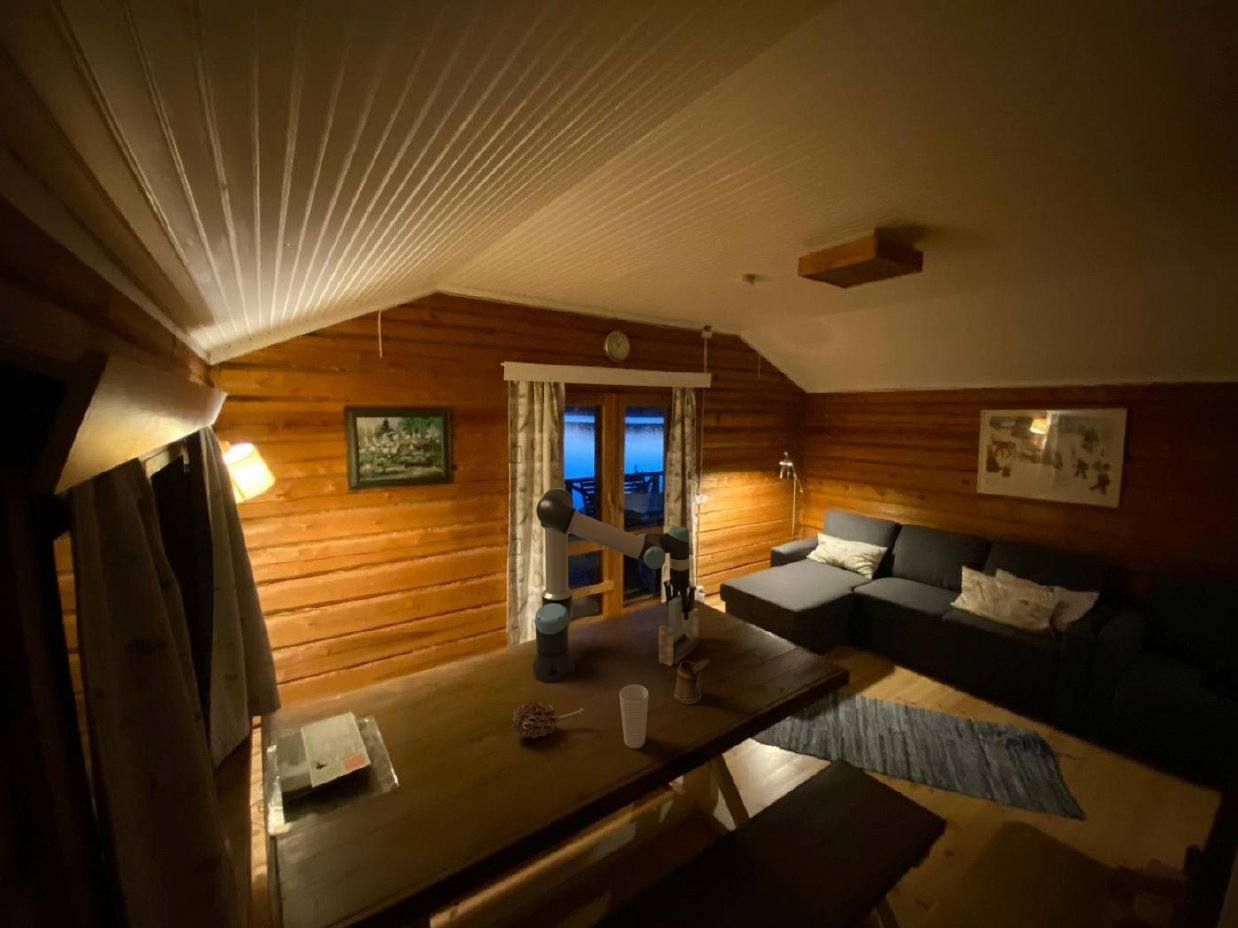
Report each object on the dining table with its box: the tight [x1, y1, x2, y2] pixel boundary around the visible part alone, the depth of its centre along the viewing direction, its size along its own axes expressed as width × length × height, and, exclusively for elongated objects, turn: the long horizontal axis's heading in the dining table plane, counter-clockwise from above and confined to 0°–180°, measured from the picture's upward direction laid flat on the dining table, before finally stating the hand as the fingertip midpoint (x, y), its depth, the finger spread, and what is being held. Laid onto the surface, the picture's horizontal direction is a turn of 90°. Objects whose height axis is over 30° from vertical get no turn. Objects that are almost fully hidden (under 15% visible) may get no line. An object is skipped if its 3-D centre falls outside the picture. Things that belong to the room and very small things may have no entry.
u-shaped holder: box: [658, 607, 700, 667], centre depth 198 cm, size 8×22×14 cm, turn 144°
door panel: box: [667, 591, 691, 640], centre depth 197 cm, size 3×12×14 cm, turn 144°
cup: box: [619, 683, 650, 749], centre depth 148 cm, size 8×8×16 cm
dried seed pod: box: [512, 701, 585, 739], centre depth 153 cm, size 22×10×10 cm, turn 109°
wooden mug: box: [673, 657, 710, 705], centre depth 167 cm, size 9×14×18 cm, turn 30°
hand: (679, 625), depth 197 cm, fingers closed on door panel, 3 cm apart
